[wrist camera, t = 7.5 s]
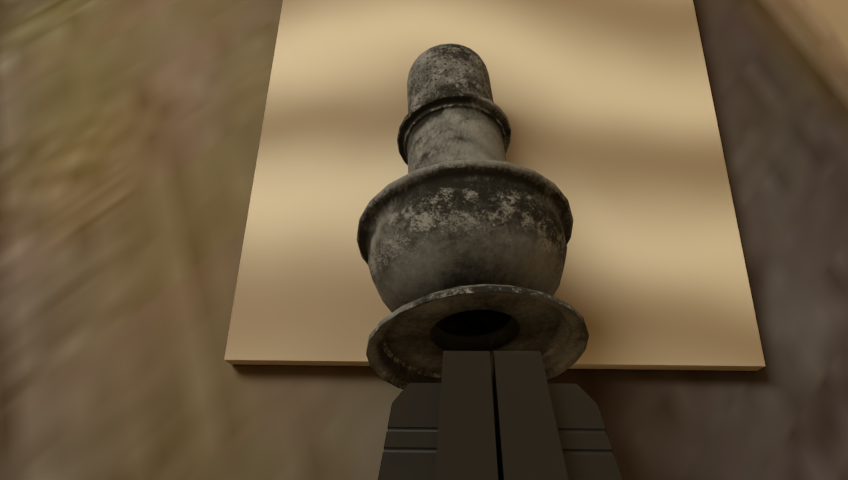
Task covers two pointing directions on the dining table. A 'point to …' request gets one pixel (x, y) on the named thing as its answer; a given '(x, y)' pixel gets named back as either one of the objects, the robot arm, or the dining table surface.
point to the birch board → (530, 147)
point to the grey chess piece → (465, 235)
